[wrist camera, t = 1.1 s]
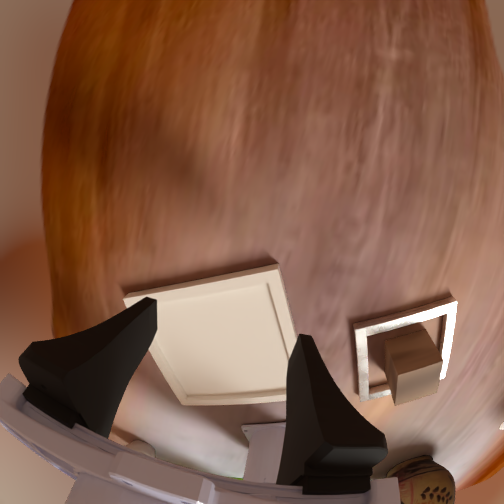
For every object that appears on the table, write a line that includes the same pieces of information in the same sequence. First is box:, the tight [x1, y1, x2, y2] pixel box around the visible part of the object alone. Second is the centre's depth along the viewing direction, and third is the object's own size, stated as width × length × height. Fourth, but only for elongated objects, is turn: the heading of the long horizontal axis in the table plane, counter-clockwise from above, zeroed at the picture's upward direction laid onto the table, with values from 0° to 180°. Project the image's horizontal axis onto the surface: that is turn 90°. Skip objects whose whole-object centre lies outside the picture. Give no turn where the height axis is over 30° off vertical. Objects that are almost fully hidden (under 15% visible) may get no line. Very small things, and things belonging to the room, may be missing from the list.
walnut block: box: [385, 329, 444, 406], centre depth 22 cm, size 4×4×5 cm
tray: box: [123, 263, 297, 405], centre depth 26 cm, size 15×15×1 cm
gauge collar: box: [353, 296, 457, 402], centre depth 24 cm, size 10×10×1 cm
